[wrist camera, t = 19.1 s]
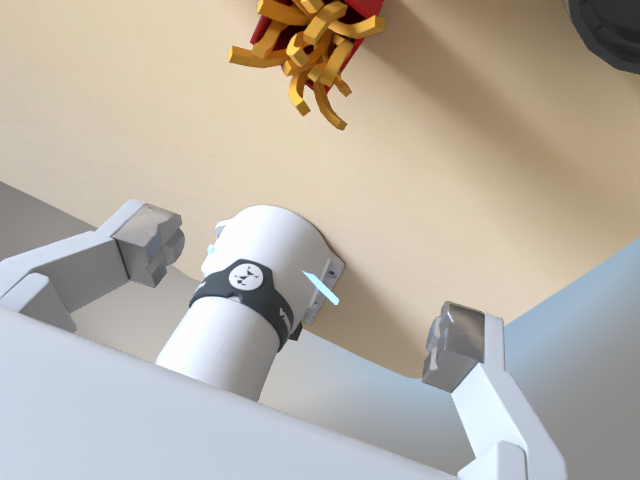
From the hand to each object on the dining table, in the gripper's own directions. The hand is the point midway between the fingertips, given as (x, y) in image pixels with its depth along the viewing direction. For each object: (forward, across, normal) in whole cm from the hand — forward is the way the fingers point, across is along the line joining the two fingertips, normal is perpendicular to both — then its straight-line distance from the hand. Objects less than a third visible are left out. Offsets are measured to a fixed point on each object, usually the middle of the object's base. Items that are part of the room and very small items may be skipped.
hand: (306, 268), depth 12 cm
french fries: (+29, +5, 0) cm, 30 cm away
